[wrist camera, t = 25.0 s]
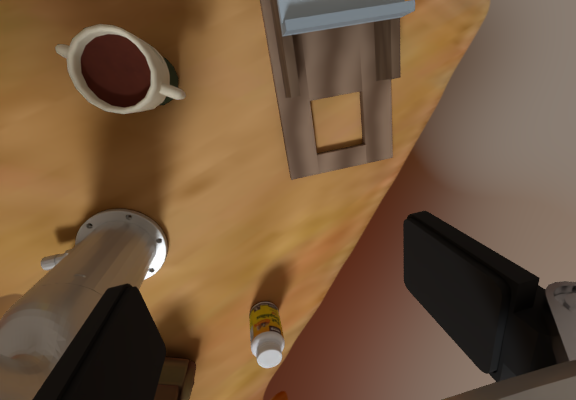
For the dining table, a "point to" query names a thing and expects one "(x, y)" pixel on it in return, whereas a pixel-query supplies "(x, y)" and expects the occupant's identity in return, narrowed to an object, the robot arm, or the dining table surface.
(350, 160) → the game box
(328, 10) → the sliding lid
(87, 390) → the robot arm
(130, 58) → the character mug
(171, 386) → the wooden toy train
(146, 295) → the dining table surface
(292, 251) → the dining table surface
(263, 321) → the supplement bottle
